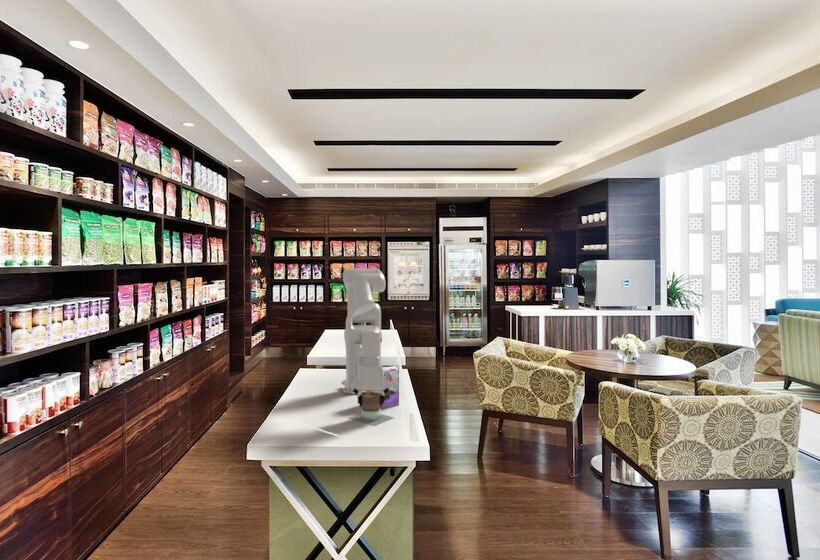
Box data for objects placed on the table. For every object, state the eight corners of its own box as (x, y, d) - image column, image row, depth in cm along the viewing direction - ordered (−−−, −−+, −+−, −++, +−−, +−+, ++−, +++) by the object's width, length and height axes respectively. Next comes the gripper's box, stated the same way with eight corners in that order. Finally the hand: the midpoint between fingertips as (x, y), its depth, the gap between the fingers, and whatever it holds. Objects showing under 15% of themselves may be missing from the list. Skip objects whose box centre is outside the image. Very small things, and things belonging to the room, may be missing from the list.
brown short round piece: (373, 411, 178) (373, 396, 178) (357, 408, 182) (357, 393, 182) (384, 406, 184) (384, 391, 184) (368, 403, 188) (368, 388, 188)
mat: (347, 419, 182) (347, 418, 182) (368, 412, 192) (368, 410, 192) (374, 427, 174) (374, 426, 174) (394, 419, 184) (394, 417, 184)
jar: (357, 418, 182) (357, 400, 182) (370, 413, 188) (370, 396, 188) (371, 422, 178) (371, 404, 177) (384, 417, 184) (384, 399, 183)
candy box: (367, 409, 196) (367, 370, 195) (365, 405, 202) (365, 367, 201) (399, 406, 200) (399, 368, 199) (396, 402, 205) (396, 365, 205)
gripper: (348, 363, 178) (348, 408, 179) (393, 362, 179) (393, 407, 180) (349, 359, 185) (349, 402, 186) (392, 358, 187) (392, 401, 188)
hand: (371, 404), depth 183 cm, fingers closed on brown short round piece, 7 cm apart
